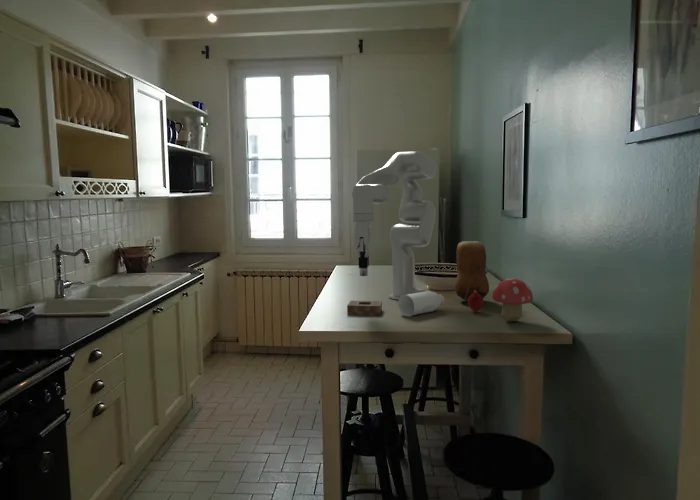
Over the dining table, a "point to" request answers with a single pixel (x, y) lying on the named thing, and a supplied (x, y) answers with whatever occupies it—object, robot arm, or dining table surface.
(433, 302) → the white plastic bottle
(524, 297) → the decorative mushroom
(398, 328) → the dining table surface
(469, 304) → the onion
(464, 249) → the butternut squash
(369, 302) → the hole block
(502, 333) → the dining table surface
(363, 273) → the peg
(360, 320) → the dining table surface
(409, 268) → the robot arm
